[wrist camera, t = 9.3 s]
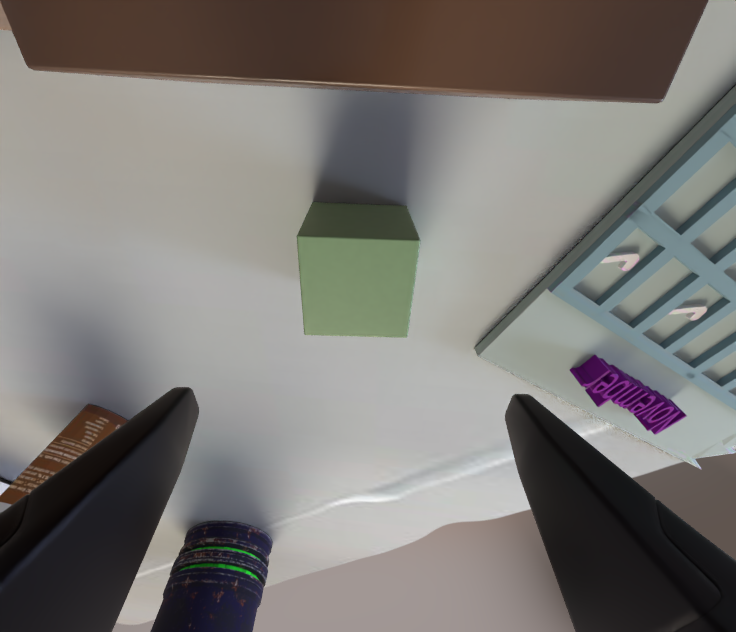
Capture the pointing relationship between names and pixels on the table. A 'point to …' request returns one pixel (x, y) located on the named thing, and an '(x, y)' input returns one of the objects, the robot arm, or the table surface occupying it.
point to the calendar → (646, 305)
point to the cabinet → (372, 44)
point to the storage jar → (216, 580)
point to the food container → (63, 450)
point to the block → (357, 269)
